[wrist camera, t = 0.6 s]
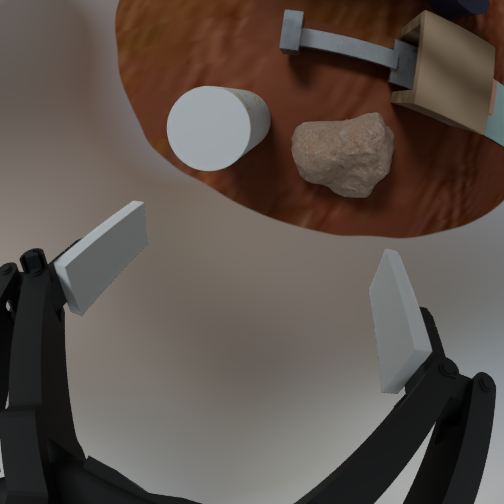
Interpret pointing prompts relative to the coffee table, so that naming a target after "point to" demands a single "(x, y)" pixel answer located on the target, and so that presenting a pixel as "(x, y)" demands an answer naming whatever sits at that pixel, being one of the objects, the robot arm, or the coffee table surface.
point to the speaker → (459, 7)
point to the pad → (497, 118)
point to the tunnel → (449, 73)
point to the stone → (344, 153)
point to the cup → (216, 126)
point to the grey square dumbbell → (350, 48)
